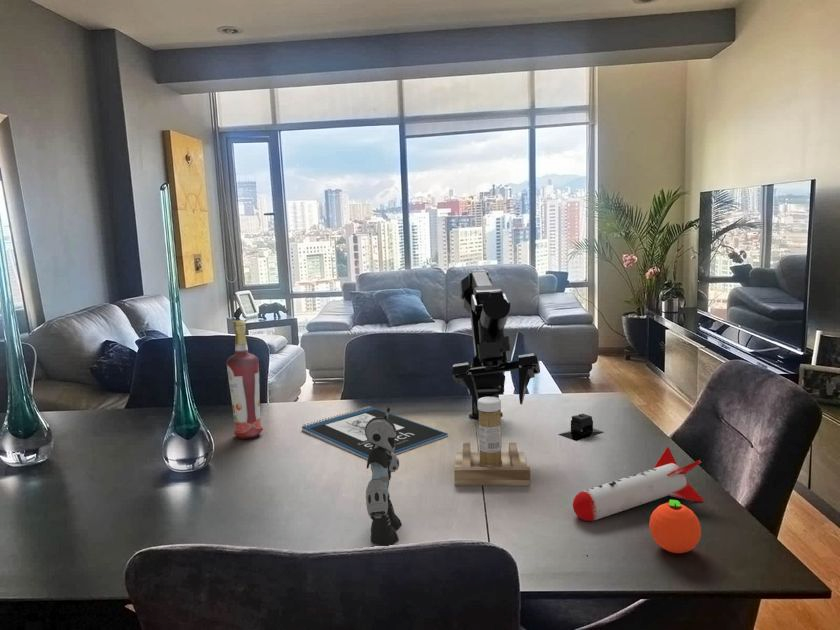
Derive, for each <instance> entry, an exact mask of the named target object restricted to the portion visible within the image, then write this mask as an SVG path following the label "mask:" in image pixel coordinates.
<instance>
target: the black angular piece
mask: <svg viewBox="0 0 840 630" xmlns="http://www.w3.org/2000/svg"><path fill="white" fill-rule="evenodd" d="M603 433H605V431H602V430H599V429H596V428H594V420H593V416H592V415H588V414H585V413H579V414H578V415H577V414H576V415H572V416H571V420H570V430H569V431H564V432H561V433H558V434H557V435H558V436H561V437H563V438H566V439H569V440H572V441H575V442H578V441H581V440H584V439H588V438H591V437H594V436H598V435H601V434H603Z"/></svg>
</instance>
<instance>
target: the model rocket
mask: <svg viewBox="0 0 840 630" xmlns="http://www.w3.org/2000/svg"><path fill="white" fill-rule="evenodd" d="M701 463H702V461H701V459H699V460H696V461H694V462H692V463H690V464H688V465H685V466H682V467H680V466H679V465H678V464H677V461H676V460H675V457H674V456H673V453H672V450H671V449H670V447H669V446H666V448H665V450H664V451H663V453H662V454H661V455H660V457H659V459H658V460H657V462H656V463H655V465H654V466H653V468H652V469H651V468H650V469H648V470H645V471H641V472H638V473H635V474H632V475H630V476H629V475H628V476H626V477H623V478H619V479H617V480H613V481H611V482H607V483H604V484H601V485H597V486H594V487H591V488H588V489H584V490H582V491H579V492H578V493H577V494H576V495H575V496H574V498H573V500H572V509H573V511H574V513H575V515H576V516H577V517H578V518H579V519H580V520H582V521H586V522H594V521H597V520H599V519H603V518H606V517H609V516H611V515H614V514H618V513H620V512H623V511H627V510H629V509H631V508H635V507H638V506H641V505H643V504H647V503H649V502H652V501H657V500H658V499H661V498H665V497H667V496H669V497H673V498H678V499H683V500H688V501H691V502H699V503H700V502H702V503H705V502H706V501H705V500H704V499H703V498H702V496H701V495H699V493H698V492H697V490H695V488H694V487H693V486H692V485H691V484H690V483H689V481H688V480H687V478H686V474H687V473H688V472H690V471H691V470H693V469H694V468H696V467H697V466H699V464H701Z"/></svg>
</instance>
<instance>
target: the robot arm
mask: <svg viewBox="0 0 840 630" xmlns="http://www.w3.org/2000/svg"><path fill="white" fill-rule="evenodd" d="M492 281H493V280H492V279H491V278H490V276H489V271H488V270H485V269H480V270H479V269H478V270H477V269H475V270H474V269H473V270H471V271H468V273H467V276H466V277H464V278H463V279H461V281H460V286H459V298H460V300H462V304H463V308H464V309H465V310H466V311H467V312H468V313H469V315H470V322H471V323H470V324H471V332H472V333H471V334H472V343H473V350H474V356H473V358H472V361H471V363H470V362H467V361H466V362H462V363H455V364H452V367H451V369H450V370H451V377H452V378H453V380H454V382H455V383H456V384H459V385H460V384H461V386H462V387H464V388H465V387H467V392H468V394H469V396H471V412H470V413H469V414H468V417H469V418H472V419H477V420H479V411H478V399H479V398H482V397H497V398H499V399H500V395H503V394H504V393H505V383H506V375H505V374H504V372H506V373H507V372H512V371H518V397H519V404H520V405H523V403H524V399H525V395H526V392H527V388H528V386H529V382H530V380H531V379H535V377H536V375H538V374H540V373H541V368H540V362H539V357H538V355H537V354H536V353H534V352H533V353H525V354H519V355H518V360H515V361H509V358H508V352H511V351H512V345H511V338H510V336H509V335H506V333H505V332H506V331H505V327H506V325H507V320H508V317H509V314H510V310H511V302H510V300H509V299H508V297H507V296H506V294H505V293H504V292H503V290H502V289H501V288H500V287H498V286H493V282H492ZM501 416H503V412H502V411H500V417H501Z"/></svg>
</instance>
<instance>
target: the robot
mask: <svg viewBox="0 0 840 630" xmlns="http://www.w3.org/2000/svg"><path fill="white" fill-rule="evenodd" d="M390 411H391V408H390V407H387V409H386V411H385V412H386V414H385V416H384V417H375V418H373V419H371V420H370V421H369V422H368V423H367V425H366V428H365V436H366V438H367V440H368V439H369V440H370V441H371V442H372V443H374V444H373V447H372V450H371V452H370V453H369V457H368V460H367V459H366V460H367V461H366V469H367V470H368V469H369V468H370V470H371V473H372V474H371V480H370V481H368V483H367V486H366V491H365V500H366V503H365V504H366V511H367V514H368V516H369V518H370V519H371V525H370V526H371V527H370V540H371V543H372V544H375V545H378V546H383V547H384V546H393V545H394V544H395V543H397V542H398V541H399V540H400V539H399V537H398V534H397V532H396V530H399V529H400V527H402V525H403V524H402V521H401V519H400V518H399V517H398V516H397V515H396V513H395V509H394V506H393V503H392V500H391V499H390V496H391V495H390V493H389V485H390V481H391V477H392V473H395V472H396V471H397V470H399V467H400V460H399V457H398V456H397V455H395V454H394V453H393V452H394V450H395V447H394V441H395V437H396V428H395V426H394V423H392V422H391V421H390V420H389V419H388V416H389V413H390Z"/></svg>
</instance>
